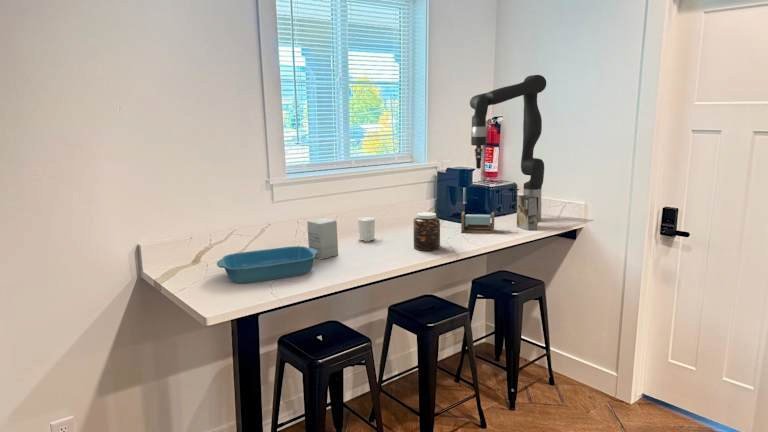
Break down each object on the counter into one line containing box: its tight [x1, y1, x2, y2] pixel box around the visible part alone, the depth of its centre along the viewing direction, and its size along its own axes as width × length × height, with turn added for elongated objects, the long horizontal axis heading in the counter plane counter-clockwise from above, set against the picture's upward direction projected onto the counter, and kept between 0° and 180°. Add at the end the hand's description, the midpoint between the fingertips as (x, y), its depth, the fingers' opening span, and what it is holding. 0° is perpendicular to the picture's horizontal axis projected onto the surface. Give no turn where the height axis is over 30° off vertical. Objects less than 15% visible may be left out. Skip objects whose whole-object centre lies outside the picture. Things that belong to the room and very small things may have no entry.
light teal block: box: [465, 213, 492, 225], centre depth 254 cm, size 5×12×4 cm, turn 79°
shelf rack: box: [460, 211, 495, 235], centre depth 255 cm, size 9×16×9 cm, turn 79°
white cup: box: [357, 216, 376, 242], centre depth 243 cm, size 8×8×10 cm
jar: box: [413, 211, 441, 252], centre depth 225 cm, size 12×12×15 cm
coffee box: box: [516, 195, 539, 231], centre depth 259 cm, size 9×6×16 cm
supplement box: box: [306, 217, 339, 260], centre depth 216 cm, size 9×9×15 cm
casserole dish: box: [216, 245, 318, 284], centre depth 194 cm, size 37×22×7 cm, turn 113°
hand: (478, 167), depth 266 cm, fingers open, 8 cm apart
